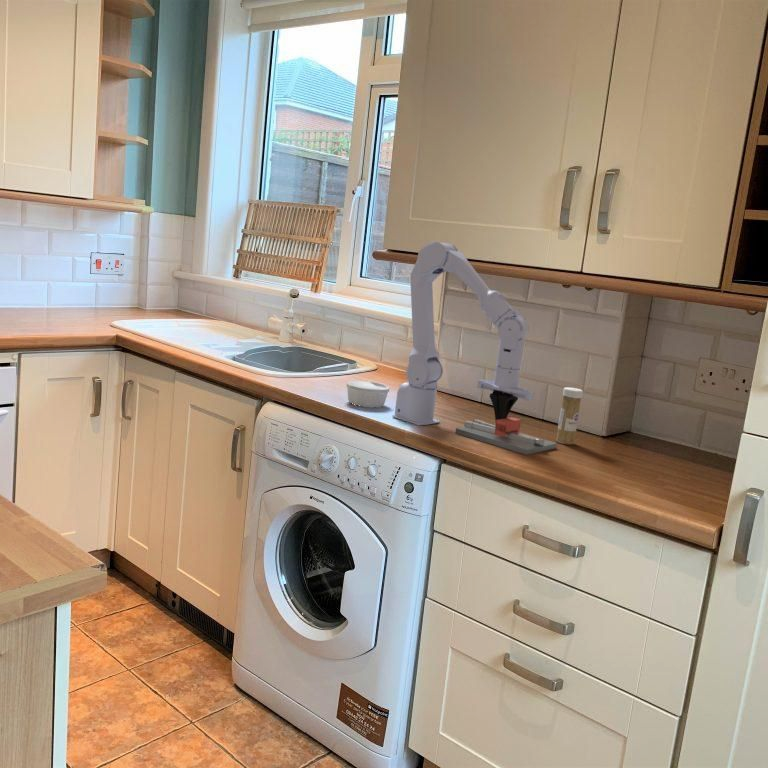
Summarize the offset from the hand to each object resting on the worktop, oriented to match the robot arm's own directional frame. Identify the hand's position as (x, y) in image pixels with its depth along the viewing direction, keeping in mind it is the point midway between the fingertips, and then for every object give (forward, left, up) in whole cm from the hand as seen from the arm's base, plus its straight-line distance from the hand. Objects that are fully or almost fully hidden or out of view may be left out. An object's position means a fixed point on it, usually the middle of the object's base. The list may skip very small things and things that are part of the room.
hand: (500, 423), depth 192 cm
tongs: (+2, 0, -2) cm, 3 cm away
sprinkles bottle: (+10, +14, -4) cm, 18 cm away
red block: (+2, 0, -2) cm, 3 cm away
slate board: (+2, 0, -4) cm, 4 cm away
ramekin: (-39, -5, -4) cm, 39 cm away
